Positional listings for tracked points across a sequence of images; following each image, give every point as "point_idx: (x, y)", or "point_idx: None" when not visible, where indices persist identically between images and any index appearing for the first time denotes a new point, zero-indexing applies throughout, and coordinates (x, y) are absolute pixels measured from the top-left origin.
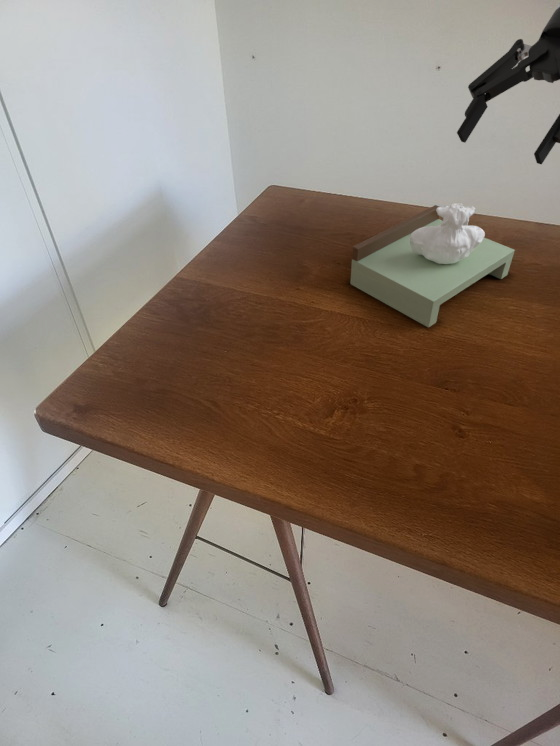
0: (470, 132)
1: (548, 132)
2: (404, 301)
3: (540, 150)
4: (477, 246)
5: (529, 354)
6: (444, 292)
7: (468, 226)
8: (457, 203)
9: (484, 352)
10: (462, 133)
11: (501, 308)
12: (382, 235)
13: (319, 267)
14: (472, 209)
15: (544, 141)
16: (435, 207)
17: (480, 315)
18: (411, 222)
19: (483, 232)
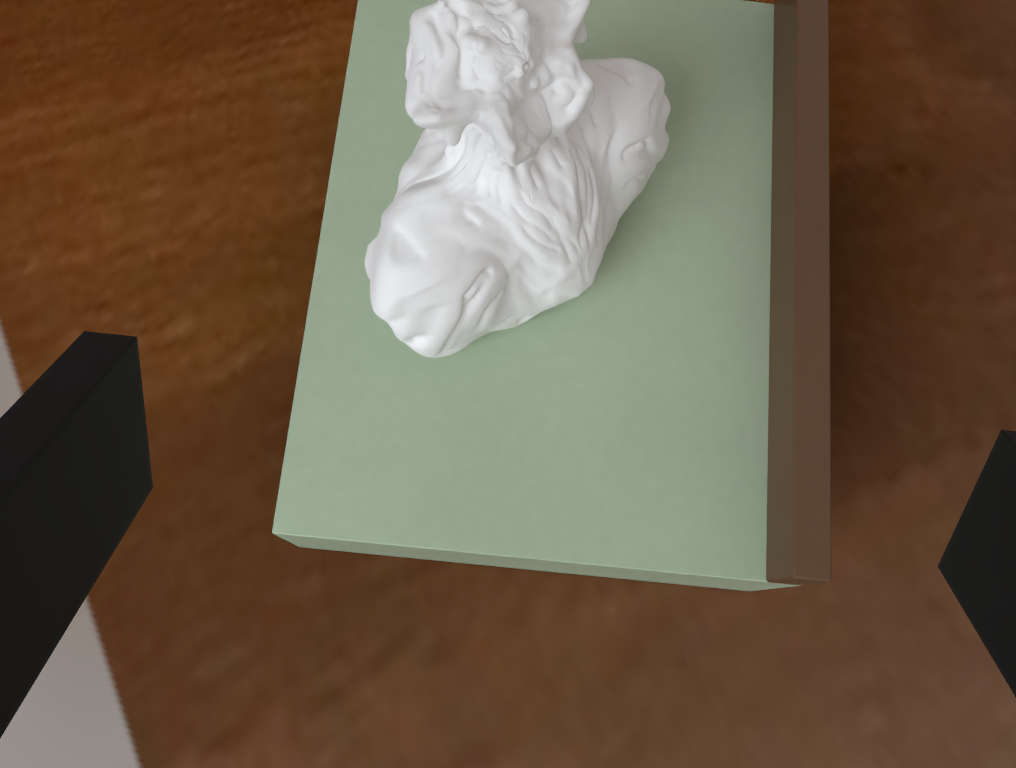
0: (991, 630)
1: (8, 480)
2: None
3: (72, 353)
4: (441, 440)
5: (21, 114)
6: (363, 23)
7: (443, 209)
8: (509, 51)
9: (156, 38)
10: (997, 464)
11: (212, 297)
12: (802, 112)
13: (931, 103)
14: (422, 103)
15: (42, 405)
16: (810, 550)
17: (260, 208)
18: (792, 315)
19: (375, 280)
